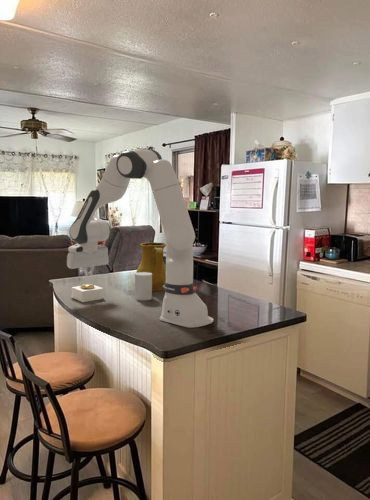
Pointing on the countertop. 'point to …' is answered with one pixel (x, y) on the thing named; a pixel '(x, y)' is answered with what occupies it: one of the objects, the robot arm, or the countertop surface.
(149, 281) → the white cylinder
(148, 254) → the pitcher
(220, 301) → the countertop surface
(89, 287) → the brass dome knob
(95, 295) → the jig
